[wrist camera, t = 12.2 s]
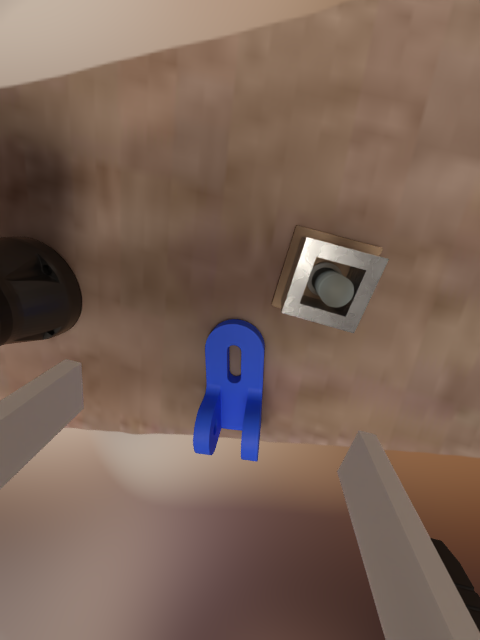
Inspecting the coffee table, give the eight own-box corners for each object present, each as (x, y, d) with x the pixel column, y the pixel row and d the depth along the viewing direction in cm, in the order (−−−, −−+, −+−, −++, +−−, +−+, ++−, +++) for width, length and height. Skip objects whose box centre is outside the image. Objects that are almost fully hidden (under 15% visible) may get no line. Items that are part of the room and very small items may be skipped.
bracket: (260, 422, 39) (256, 473, 31) (211, 417, 40) (194, 465, 32) (266, 320, 33) (262, 349, 25) (208, 317, 34) (185, 344, 26)
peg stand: (271, 303, 32) (270, 324, 24) (296, 225, 28) (303, 222, 21) (344, 323, 32) (366, 352, 24) (378, 247, 28) (417, 252, 20)
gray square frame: (280, 300, 31) (281, 312, 26) (301, 236, 28) (306, 237, 23) (341, 318, 30) (353, 333, 26) (369, 254, 27) (388, 259, 23)
